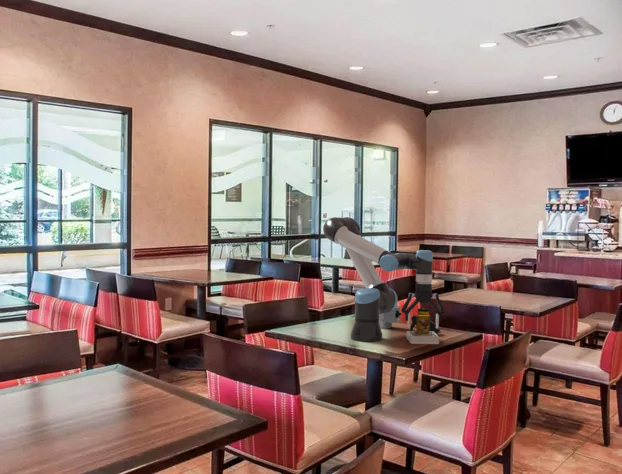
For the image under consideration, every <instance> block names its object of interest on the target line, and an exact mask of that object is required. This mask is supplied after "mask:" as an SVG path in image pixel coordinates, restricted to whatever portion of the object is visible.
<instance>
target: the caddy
mask: <svg viewBox="0 0 622 474" xmlns="http://www.w3.org/2000/svg"><path fill="white" fill-rule="evenodd" d="M412 332H416V330H413V331H410V330H406V340H407V341H408V342H409V343H410V344H413V345H414V344H415V345H418V344H419V345H420V344H421V345H439V344H440V336H439V334H438V335H437V334H436V333H435V332H434V331H429V333H433V334H430V335H426V336H422V335H417V334H412Z"/></svg>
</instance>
